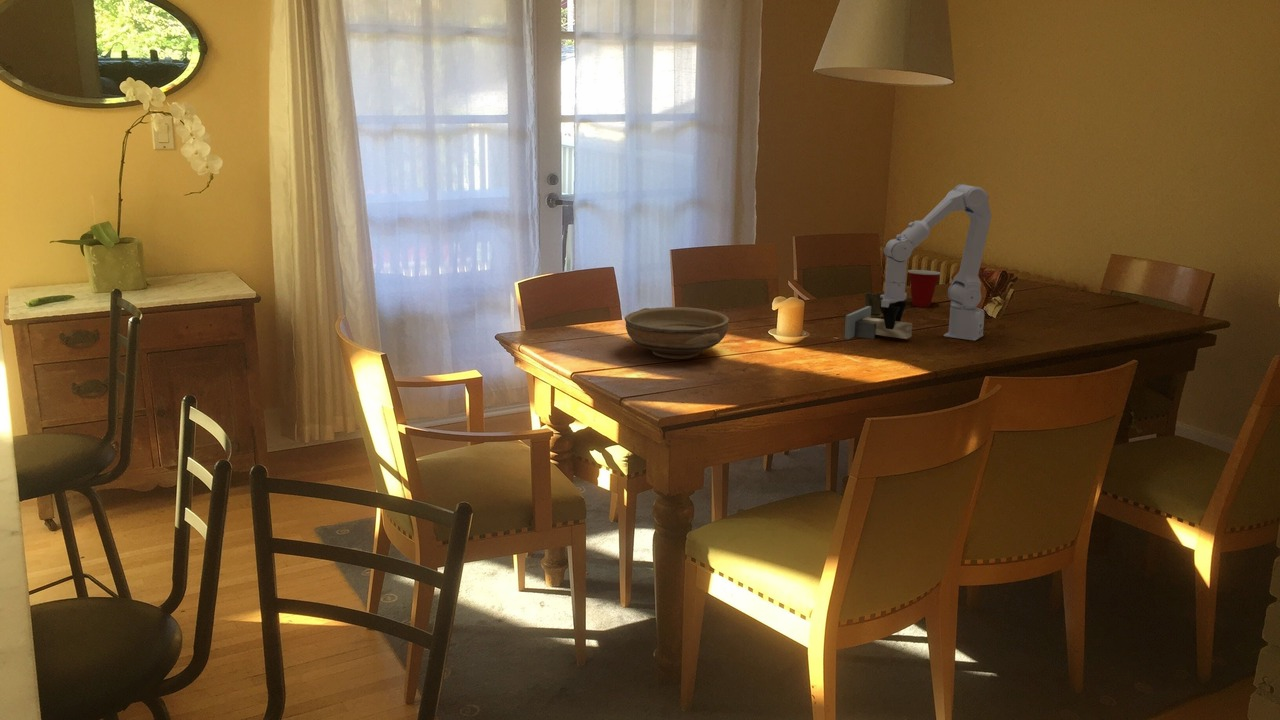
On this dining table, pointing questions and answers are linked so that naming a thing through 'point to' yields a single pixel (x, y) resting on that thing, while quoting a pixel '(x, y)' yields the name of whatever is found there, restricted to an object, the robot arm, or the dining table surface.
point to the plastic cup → (922, 286)
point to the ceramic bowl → (676, 330)
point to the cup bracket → (865, 329)
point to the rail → (898, 331)
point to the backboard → (853, 318)
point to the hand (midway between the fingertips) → (892, 327)
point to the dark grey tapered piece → (874, 304)
